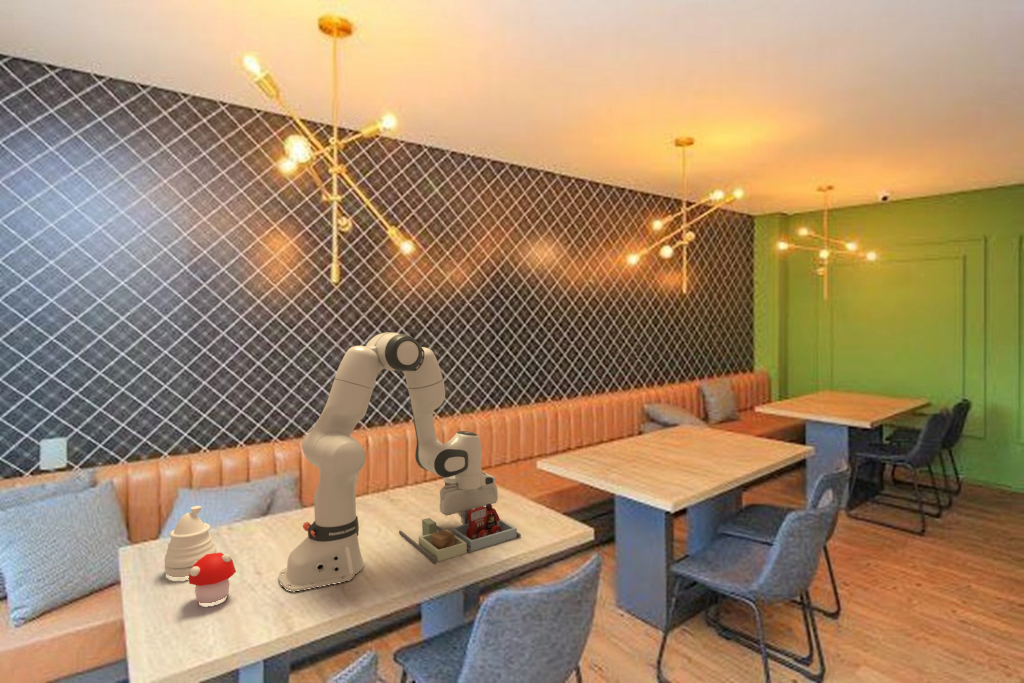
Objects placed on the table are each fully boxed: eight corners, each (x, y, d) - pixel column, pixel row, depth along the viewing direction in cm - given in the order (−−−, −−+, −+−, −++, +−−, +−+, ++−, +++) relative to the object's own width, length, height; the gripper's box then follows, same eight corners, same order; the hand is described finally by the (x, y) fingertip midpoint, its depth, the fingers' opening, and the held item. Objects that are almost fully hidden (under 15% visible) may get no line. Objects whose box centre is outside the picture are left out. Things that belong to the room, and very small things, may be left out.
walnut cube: (441, 555, 166) (441, 539, 166) (431, 550, 170) (431, 534, 170) (455, 550, 170) (454, 534, 170) (444, 545, 174) (444, 529, 173)
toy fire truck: (506, 535, 180) (505, 503, 179) (476, 548, 171) (475, 514, 171) (492, 529, 185) (491, 498, 184) (462, 541, 176) (461, 508, 176)
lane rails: (434, 563, 161) (434, 559, 161) (399, 534, 182) (399, 530, 182) (520, 537, 178) (520, 533, 178) (479, 513, 199) (479, 510, 199)
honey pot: (220, 557, 169) (216, 498, 167) (214, 576, 157) (210, 512, 155) (170, 565, 164) (166, 504, 163) (160, 585, 152) (156, 520, 151)
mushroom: (179, 611, 139) (176, 564, 138) (205, 589, 149) (203, 544, 149) (221, 611, 138) (219, 564, 137) (245, 589, 149) (242, 544, 148)
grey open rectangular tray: (470, 551, 169) (470, 531, 168) (443, 532, 183) (443, 514, 183) (516, 537, 178) (516, 519, 177) (487, 520, 192) (487, 503, 192)
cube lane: (437, 561, 163) (436, 541, 162) (412, 541, 177) (411, 522, 177) (466, 552, 168) (466, 533, 167) (439, 533, 182) (439, 515, 182)
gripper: (444, 489, 176) (445, 532, 177) (499, 476, 188) (500, 517, 189) (435, 484, 182) (436, 526, 182) (489, 472, 193) (490, 512, 194)
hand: (469, 521), depth 186 cm, fingers closed on grey open rectangular tray, 2 cm apart
